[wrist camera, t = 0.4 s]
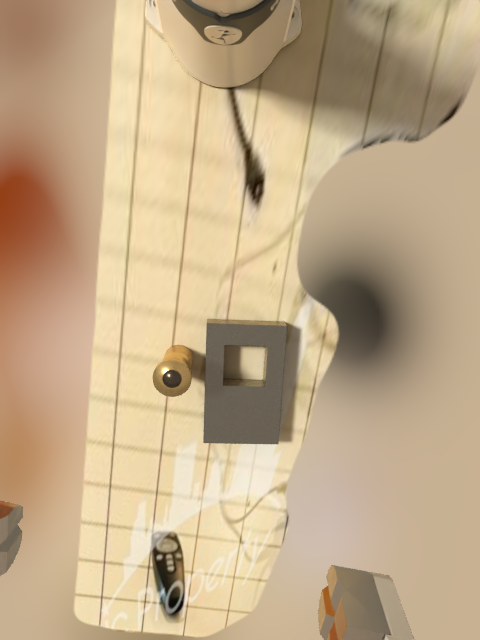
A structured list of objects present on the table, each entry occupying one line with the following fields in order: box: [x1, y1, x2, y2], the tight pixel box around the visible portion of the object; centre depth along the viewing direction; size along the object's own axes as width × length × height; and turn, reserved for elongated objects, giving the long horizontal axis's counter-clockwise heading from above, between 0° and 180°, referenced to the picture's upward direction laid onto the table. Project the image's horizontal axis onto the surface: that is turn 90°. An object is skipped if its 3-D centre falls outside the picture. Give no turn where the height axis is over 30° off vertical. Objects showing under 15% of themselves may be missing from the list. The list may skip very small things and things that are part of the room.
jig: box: [203, 319, 287, 444], centre depth 57 cm, size 18×11×2 cm, turn 177°
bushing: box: [153, 345, 192, 397], centre depth 54 cm, size 5×5×8 cm
